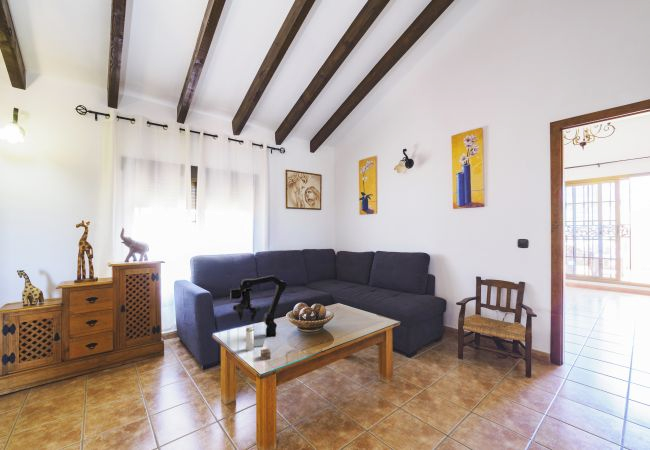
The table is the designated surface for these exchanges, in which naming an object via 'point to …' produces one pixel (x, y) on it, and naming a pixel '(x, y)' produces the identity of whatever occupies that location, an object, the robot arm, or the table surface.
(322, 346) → the table surface
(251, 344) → the jar
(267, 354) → the walnut block
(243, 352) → the table surface
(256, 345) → the slate tile
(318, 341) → the table surface
